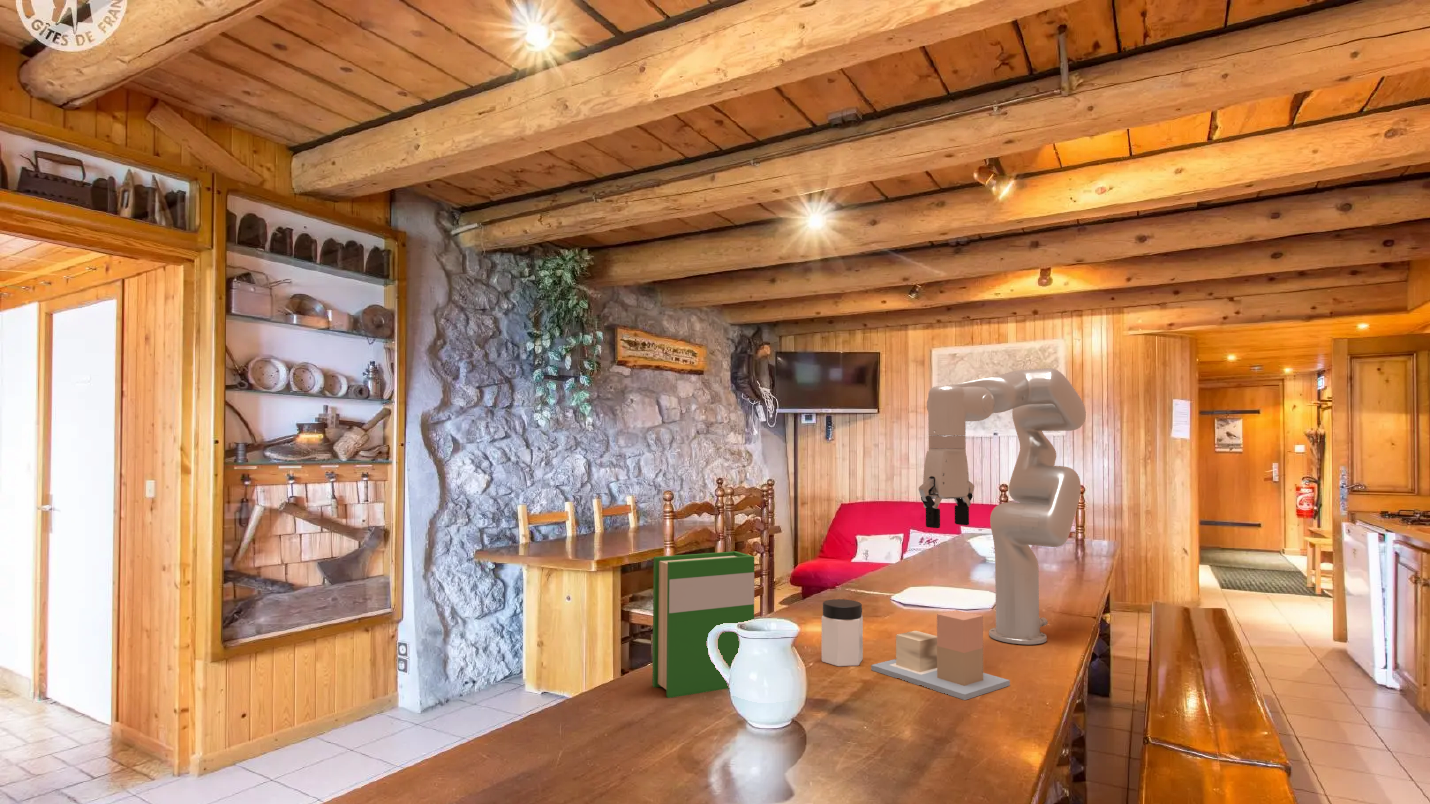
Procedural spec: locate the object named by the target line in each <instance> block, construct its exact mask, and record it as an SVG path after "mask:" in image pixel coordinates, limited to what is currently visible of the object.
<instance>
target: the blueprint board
mask: <svg viewBox="0 0 1430 804" xmlns="http://www.w3.org/2000/svg"><path fill="white" fill-rule="evenodd" d="M870 668H871V671H873V672H877V673H879V674H882V675H885V676H888V677H892V678H894V679H897V678H900V679H902V680H901V681H904V680H905V682H907V681H908V682H907V683H910V684H914V685H916V686H919V685H922V686H924V687H923V688H925V687H927V688H926V689H928V688H930V689H929V690H932V689H933V690H932V691H934V692H939V693H940V694H944V693H945V694H944V695H947V694H948V695H947V696H950V697H953V698H956V699H960V700H962V701H966V700H969V699H974V698H977V697H978V696H981V695H985V694H988V693H991V692H994V691H998V690H1000V689H1003V688H1006V687H1010V686H1011V680H1010V679H1007V678H1003V677H999V676H996V675H992V674H990V673H985V672H984V647H983V648H981V649H977V650H973V651H970V652H966V653H962V652H958V651H955V650H951V649H947V648H943V647H939V646H937V668H935V669H931V670H927V671H923V672H917V671H914V670H911V669H908V668H905V667H901V666H898V665H896V658H895V659H890V660H886V661H882V662H878V663H874V664H871V665H870ZM900 679H899V680H900ZM922 686H921V687H922Z"/></svg>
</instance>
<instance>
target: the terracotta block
mask: <svg viewBox="0 0 1430 804" xmlns="http://www.w3.org/2000/svg"><path fill="white" fill-rule="evenodd" d="M936 636H937V646H939V647H943V648H947V649H951V650H955V651H958V652H962V653H966V652H970V651H973V650H977V649H981V648H983V649H984V615H981V614H975V613H971V612H965V611H962V610H956V609H955V610H951V611H947V612H941V613H936Z"/></svg>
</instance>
